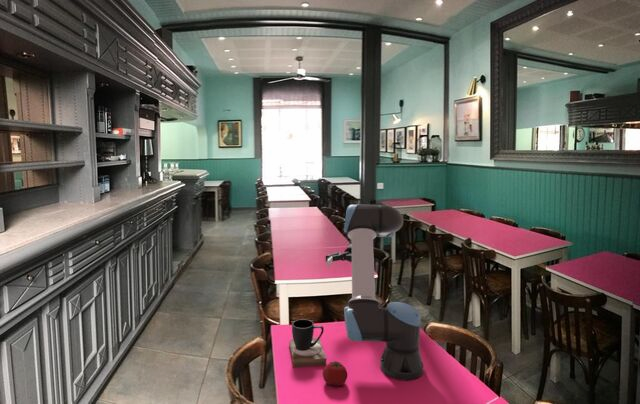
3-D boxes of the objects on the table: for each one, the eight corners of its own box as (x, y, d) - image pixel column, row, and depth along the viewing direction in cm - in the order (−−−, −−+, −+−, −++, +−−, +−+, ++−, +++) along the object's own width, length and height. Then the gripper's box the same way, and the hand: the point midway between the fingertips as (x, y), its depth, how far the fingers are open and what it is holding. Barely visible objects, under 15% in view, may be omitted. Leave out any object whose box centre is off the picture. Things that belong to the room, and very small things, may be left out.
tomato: (335, 373, 137) (335, 354, 136) (351, 383, 131) (352, 363, 130) (318, 382, 131) (318, 362, 130) (334, 393, 125) (335, 372, 124)
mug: (321, 354, 143) (321, 330, 142) (289, 351, 145) (289, 327, 144) (324, 343, 152) (325, 320, 150) (294, 341, 153) (294, 318, 152)
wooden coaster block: (326, 364, 142) (326, 357, 142) (293, 367, 140) (293, 360, 140) (319, 343, 158) (319, 336, 157) (289, 345, 156) (289, 338, 155)
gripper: (378, 262, 187) (371, 275, 167) (328, 258, 194) (315, 270, 174) (378, 247, 186) (371, 259, 166) (328, 243, 193) (315, 254, 173)
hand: (342, 264), depth 170 cm, fingers open, 13 cm apart
